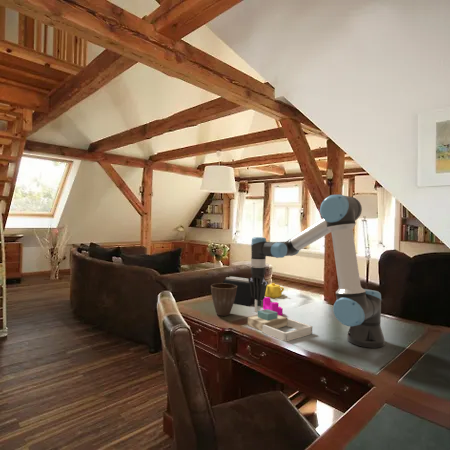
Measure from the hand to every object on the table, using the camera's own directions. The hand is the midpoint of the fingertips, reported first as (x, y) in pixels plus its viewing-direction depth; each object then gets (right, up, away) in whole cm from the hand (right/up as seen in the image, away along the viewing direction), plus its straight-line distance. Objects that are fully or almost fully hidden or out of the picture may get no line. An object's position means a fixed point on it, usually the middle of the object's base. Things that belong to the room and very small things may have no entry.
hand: (257, 311), depth 170 cm
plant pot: (-18, -5, +13) cm, 23 cm away
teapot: (+16, -6, +55) cm, 58 cm away
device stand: (-6, -5, +45) cm, 46 cm away
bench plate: (+4, -5, -6) cm, 9 cm away
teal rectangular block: (+5, -1, -6) cm, 8 cm away
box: (+12, -6, -16) cm, 21 cm away
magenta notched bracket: (+11, -6, +18) cm, 22 cm away
